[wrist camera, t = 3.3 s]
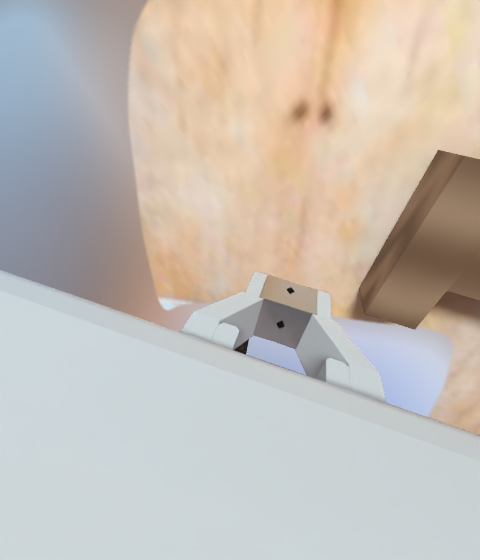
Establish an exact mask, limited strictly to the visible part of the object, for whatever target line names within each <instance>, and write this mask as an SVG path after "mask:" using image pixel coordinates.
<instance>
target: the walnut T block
mask: <svg viewBox="0 0 480 560" xmlns="http://www.w3.org/2000/svg"><path fill="white" fill-rule="evenodd" d="M359 289H360V294H361V298H362V303H363V308H364V313H365V314H367V315H371V316H374V317H377V318H380V319H383V320H386V321H390V322H393V323H396V324H399V325H402V326H405V327H408V328H412V329H416V327H417V326H418V325H419V324H420V323H421V321H422V320H423V319H424V318H425V317H426V315H427V314H428V313H429V312H430V311H431V309H432V308H433V307H434V306H435V305H436V303H437V302H438V301H439V300H440V299H441V297H442V296H443V295H444V294H445V293H446V291H449V292H452V293H456V294H459V295H463V296H466V297H469V298H473V299H476V300H480V159H476V158H471V157H467V156H462V155H458V154H453V153H449V152H445V151H440V150H438V151H437V153H436V155H435V157H434V158H433V160H432V162H431V164H430V165H429V167H428V169H427V171H426V172H425V174H424V176H423V178H422V179H421V181H420V183H419V185H418V186H417V188H416V190H415V192H414V193H413V195H412V197H411V198H410V200H409V202H408V204H407V205H406V207H405V209H404V211H403V212H402V214H401V216H400V218H399V219H398V221H397V223H396V225H395V226H394V228H393V230H392V232H391V233H390V235H389V237H388V239H387V240H386V242H385V244H384V246H383V247H382V249H381V251H380V253H379V254H378V256H377V258H376V259H375V261H374V263H373V265H372V266H371V268H370V270H369V272H368V273H367V275H366V277H365V279H364V280H363V282H362V284H361V286H360V287H359Z"/></svg>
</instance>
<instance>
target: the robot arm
mask: <svg viewBox="0 0 480 560" xmlns="http://www.w3.org/2000/svg"><path fill="white" fill-rule="evenodd" d="M253 335H255V336H258V337H261V338H265V339H268V340H271V341H274V342H277V343H280V344H283V345H285V346H288V347H291V348H294V349H296V352H297V355H298V357H299V359H300V361H301V363H302V366H303V368H304V370H305V372H306V374H307V375H304V374H301V373H298V372H295V371H292V370H289V369H286V368H283V367H280V366H277V365H274V364H272V363H269V362H266V361H263V360H260V359H257V358H254V357H251V356H248V355H245V354H243V353H240V352H237V351H234V350H235V349H236V348H237V347H238V346H240V345H241V344H242V343H244V342H245V341H247V340H248V339H249V338H250V337H252V336H253ZM0 560H480V435H478V434H475V433H472V432H469V431H466V430H463V429H460V428H458V427H455V426H452V425H449V424H446V423H443V422H440V421H437V420H434V419H431V418H428V417H425V416H423V415H419V414H417V413H414V412H411V411H408V410H405V409H402V408H399V407H396V406H394V405H390V404H388V403H386V398H385V394H384V389H383V385H382V381H381V376H380V373H379V372H378V371H377V369H376V368H375V367H374V366H373V365H372V364H371V362H370V361H369V360H368V359H367V358H366V357H365V355H364V354H363V353H362V352H361V350H360V349H359V348H358V347H357V346H356V345H355V343H354V342H353V341H352V340H351V339H350V337H348V335H347V334H346V333H345V332H344V330H343V329H342V328H341V327H340V325H339V324H338V323H337V322H336V321H334V320H332V309H331V294H330V293H328V292H325V291H321V290H317V289H313V288H309V287H306V286H302V285H299V284H295V283H292V282H289V281H286V280H283V279H280V278H277V277H274V276H271V275H267V274H265V273H261V272H258V271H255V272H254V274H253V276H252V278H251V281H250V283H249V285H248V288H247V290H246V292H245V293H244V292H240V293H238V294H235V295H233V296H230V297H228V298H225V299H223V300H220V301H218V302H216V303H213V304H211V305H208V306H206V307H203V308H201V309H199V310H196V311H194V312H193V313H192V315H191V316H190V318H189V319H188V321H187V322H186V324H185V326H184V327H183V328H182V330H181V332H179V331H176V330H173V329H170V328H167V327H164V326H161V325H158V324H156V323H152V322H150V321H147V320H144V319H141V318H138V317H135V316H132V315H129V314H126V313H124V312H121V311H118V310H115V309H112V308H109V307H106V306H103V305H100V304H97V303H95V302H92V301H89V300H86V299H83V298H80V297H77V296H74V295H71V294H69V293H66V292H63V291H60V290H57V289H54V288H51V287H48V286H45V285H42V284H40V283H37V282H34V281H31V280H28V279H25V278H22V277H19V276H16V275H13V274H11V273H7V272H5V271H1V270H0Z"/></svg>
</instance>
